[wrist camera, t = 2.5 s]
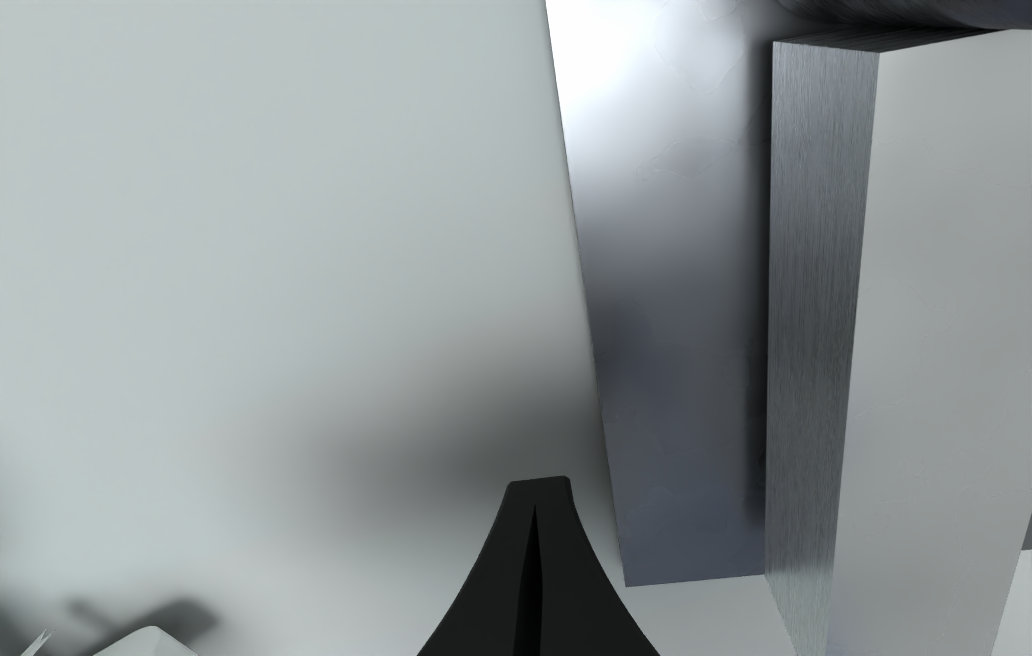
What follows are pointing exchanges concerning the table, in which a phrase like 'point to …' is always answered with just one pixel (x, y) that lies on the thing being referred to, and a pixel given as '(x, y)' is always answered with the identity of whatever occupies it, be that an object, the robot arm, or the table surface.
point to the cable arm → (899, 325)
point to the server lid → (677, 264)
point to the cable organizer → (134, 645)
